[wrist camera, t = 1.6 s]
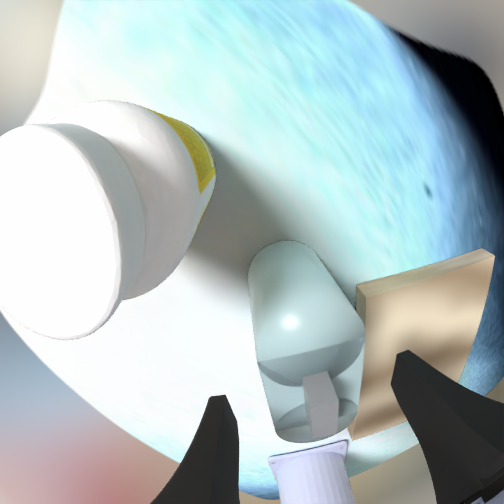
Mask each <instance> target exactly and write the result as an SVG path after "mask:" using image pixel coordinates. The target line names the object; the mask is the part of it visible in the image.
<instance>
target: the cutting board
mask: <svg viewBox="0 0 504 504" xmlns="http://www.w3.org/2000/svg"><path fill="white" fill-rule="evenodd" d="M494 258H495V256H494V255H493V254H491V253H489V252H487V251H486V250H484V249H482V248H481V249H478V250H475V251H472V252H469V253H466V254H463V255H460V256H457V257H453V258H450V259H447V260H444V261H440V262H437V263H434V264H430V265H427V266H424V267H420V268H417V269H413V270H410V271H406V272H402V273H399V274H395V275H391V276H388V277H384V278H380V279H376V280H373V281H369V282H365V283H361V284H357V285H356V312H357V314H358V315H359V317H360V318H361V320H362V322H363V324H364V328H365V347H364V360H363V370H362V380H361V388H360V396H359V404H358V411H357V415H356V417H355V419H354V420H353V421H352V422H351V424H350V425H348V431H349V433H350V436H351V439H352V441H353V440H356V439H359V438H362V437H365V436H368V435H371V434H374V433H377V432H380V431H382V430H385V429H388V428H390V427H393V426H395V425H398V424H400V423H403V422H405V421H407V419H406V417H405V415H404V413H403V411H402V410H401V408H400V406H399V404H398V402H397V400H396V397H395V395H394V392H393V389H392V387H391V380H392V375H393V370H394V365H395V360H396V355H397V354H398V353H400V352H403V351H406V350H410V351H412V352H413V353H414V354H416V355H417V356H419V357H420V358H421V359H423V360H424V361H425V362H427V363H428V364H430V365H431V366H432V367H434V368H435V369H437V370H438V371H440V372H441V373H443V374H444V375H446V376H447V377H449V378H450V379H452V380H453V381H455V382H457V383H458V381H459V378H460V376H461V374H462V371H463V369H464V366H465V364H466V361H467V359H468V356H469V353H470V351H471V348H472V345H473V342H474V339H475V336H476V333H477V330H478V327H479V323H480V320H481V317H482V313H483V309H484V305H485V302H486V298H487V293H488V289H489V285H490V280H491V275H492V270H493V264H494Z"/></svg>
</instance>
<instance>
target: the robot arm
mask: <svg viewBox="0 0 504 504" xmlns="http://www.w3.org/2000/svg"><path fill="white" fill-rule="evenodd" d="M391 387H392V389H393V392H394V395H395V397H396V400H397V402H398V404H399V406H400V408H401V410H402V411H403V413H404V415H405V417H406V419H407V420H408V422H409V424H410V426H411V427H412V429H413V431H414V433H415V435H416V437H417V438H418V441H419V443H420V445H421V447H422V450H423V453H424V455H425V458H426V461H427V464H428V467H429V471H430V474H431V477H432V481H433V485H434V489H435V495H436V501H437V504H504V403H500V402H498V401H494V400H492V399H489V398H487V397H484V396H482V395H480V394H477V393H475V392H473V391H471V390H469V389H467V388H465V387H464V386H462V385H460V384H459V383H457V382H455V381H453V380H452V379H450V378H449V377H447V376H446V375H444V374H443V373H441V372H440V371H438V370H437V369H435V368H434V367H432V366H431V365H430V364H428V363H427V362H425V361H424V360H423V359H421V358H420V357H419V356H417V355H416V354H414V353H413V352H412V351H410V350H406V351H403V352H400V353H398V354H397V355H396V360H395V365H394V370H393V375H392V380H391ZM347 445H348V444H347V441H341V442H337V443H333V444H330V445H326V446H322V447H318V448H314V449H309V450H305V451H300V452H295V453H290V454H285V455H279V456H273V457H269V458H268V463H269V465H270V468H271V470H272V473H273V475H274V477H275V480H276V482H277V485H278V488H279V495H280V501H281V504H356V502H355V499H354V495H353V492H352V488H351V485H350V482H349V478H348V475H347V472H346V469H345V465H344V462H345V456H346V451H347ZM238 481H239V435H238V426H237V420H236V418H235V416H234V413H233V411H232V409H231V406H230V404H229V402H228V399H227V397H226V395H220V396H211V397H210V398H209V400H208V403H207V406H206V409H205V412H204V415H203V417H202V420H201V422H200V425H199V427H198V430H197V432H196V434H195V436H194V439H193V441H192V443H191V445H190V447H189V449H188V451H187V453H186V454H185V456H184V458H183V460H182V462H181V463H180V465H179V467H178V468H177V470H176V472H175V473H174V475H173V476H172V478H171V479H170V480H169V482H168V483H167V484H166V486H165V487H164V488H163V490H162V491H161V492H160V493H159V495H158V496H157V497H156V498H155V499H154V500H153V501H152V502H151V503H150V504H240V501H239V487H238Z"/></svg>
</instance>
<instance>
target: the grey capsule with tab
mask: <svg viewBox="0 0 504 504" xmlns="http://www.w3.org/2000/svg"><path fill="white" fill-rule="evenodd" d="M248 287H249V296H250V305H251V314H252V323H253V331H254V340H255V349H256V357H257V363H258V367H259V371H260V374H261V378H262V382H263V386H264V390H265V394H266V397H267V401H268V405H269V409H270V412H271V416H272V420H273V423H274V427H275V431H276V433H277V435H278V436H279V437H280V438H282V439H283V440H286V441H289V442H294V443H308V442H315V441H319V440H323V439H326V438H328V437H331V436H333V435H335V434H337V433H339V432H340V431H342V430H343V429H345V428H346V427H347V426H348V425H350V424H351V422H352V421H353V420H354V419H355V417H356V415H357V411H358V404H359V396H360V388H361V380H362V370H363V360H364V347H365V328H364V324H363V322H362V320H361V318H360V317H359V315H358V314H357V312H356V311H355V309H354V308H353V306H352V305H351V303H350V302H349V300H348V299H347V297H346V296H345V295H344V293H343V292H342V290H341V289H340V287H339V286H338V284H337V283H336V282H335V280H334V279H333V277H332V276H331V274H330V273H329V272H328V270H327V269H326V267H325V266H324V264H323V263H322V262H321V260H320V259H319V257H318V256H317V255H316V253H315V252H314V251H313V250H312V249H311V248H310V247H308V246H307V245H305V244H303V243H301V242H297V241H291V240H284V241H278V242H275V243H272V244H270V245H268V246H266V247H264V248H263V249H262V250H261V251H259V252H258V253H257V255H256V256H255V257H254V258H253V260H252V262H251V264H250V266H249V270H248Z"/></svg>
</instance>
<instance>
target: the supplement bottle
mask: <svg viewBox="0 0 504 504" xmlns="http://www.w3.org/2000/svg"><path fill="white" fill-rule="evenodd" d="M215 182H216V164H215V160H214V156H213V153H212V151H211V149H210V147H209V145H208V143H207V141H206V140H205V139H204V138H203V137H202V135H201V134H200V133H199V132H198V131H196V130H195V129H194V128H192V127H191V126H189V125H188V124H186V123H184V122H182V121H179V120H177V119H174V118H171V117H168V116H165V115H163V114H160V113H157V112H155V111H152V110H150V109H147V108H145V107H142V106H139V105H136V104H132V103H128V102H122V101H113V100H104V101H95V102H89V103H85V104H81V105H78V106H76V107H73V108H71V109H70V110H68V111H66V112H64V113H63V114H61V115H60V116H58V117H57V118H55V119H54V120H53V121H52V122H51V123H50V124H34V125H26V126H21V127H18V128H15V129H13V130H11V131H9V132H7V133H5V134H4V135H2V136H1V137H0V305H1V307H2V308H3V309H4V310H5V311H6V312H7V313H8V314H9V315H10V316H11V317H13V318H14V319H15V320H16V321H17V322H19V323H20V324H22V325H23V326H24V327H26V328H28V329H29V330H31V331H33V332H35V333H37V334H40V335H42V336H45V337H49V338H53V339H59V340H73V339H79V338H82V337H85V336H88V335H90V334H92V333H94V332H95V331H96V330H98V329H99V328H100V327H102V326H103V325H104V324H105V323H106V322H107V321H108V320H109V319H110V317H111V316H112V315H113V314H114V312H115V310H116V309H117V307H118V306H119V304H120V303H121V301H122V300H126V299H131V298H135V297H137V296H140V295H142V294H145V293H147V292H149V291H150V290H152V289H154V288H155V287H157V286H158V285H159V284H160V283H162V282H163V281H164V280H165V279H166V278H167V277H168V276H169V275H170V274H171V273H172V272H173V271H174V270H175V268H176V267H177V266H178V265H179V263H180V261H181V260H182V258H183V257H184V255H185V253H186V251H187V249H188V248H189V246H190V243H191V241H192V239H193V237H194V235H195V233H196V230H197V228H198V226H199V223H200V221H201V219H202V217H203V215H204V212H205V210H206V208H207V206H208V204H209V202H210V199H211V197H212V194H213V191H214V187H215Z"/></svg>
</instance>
